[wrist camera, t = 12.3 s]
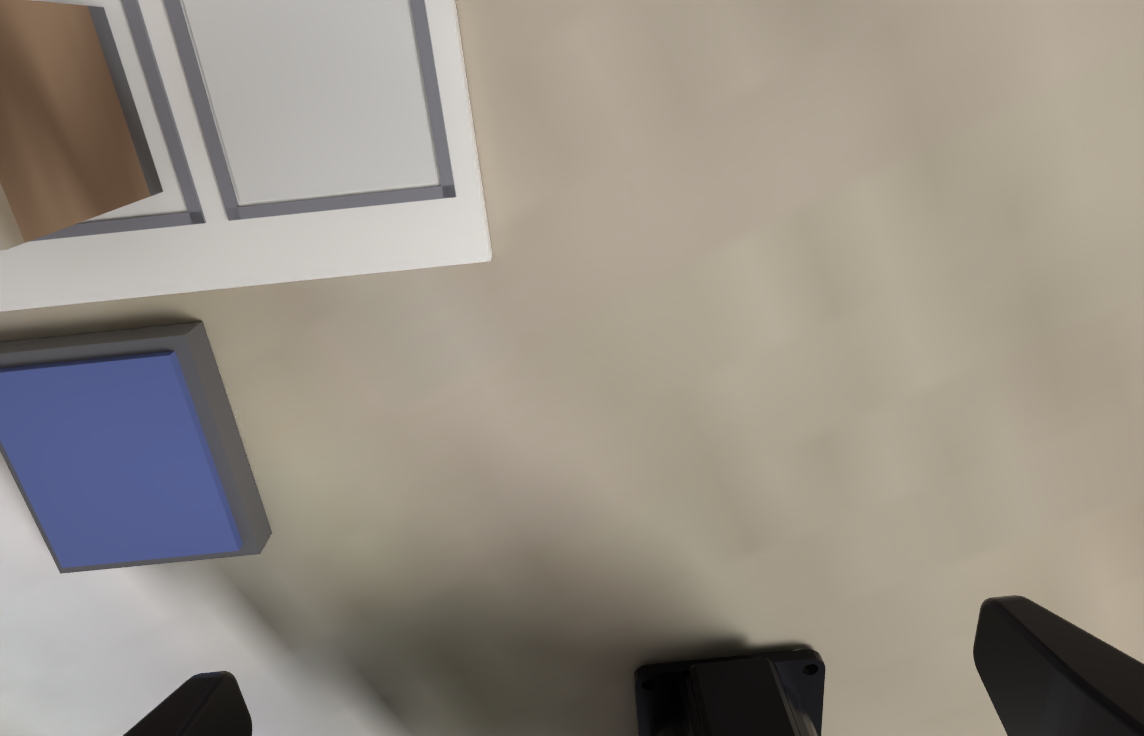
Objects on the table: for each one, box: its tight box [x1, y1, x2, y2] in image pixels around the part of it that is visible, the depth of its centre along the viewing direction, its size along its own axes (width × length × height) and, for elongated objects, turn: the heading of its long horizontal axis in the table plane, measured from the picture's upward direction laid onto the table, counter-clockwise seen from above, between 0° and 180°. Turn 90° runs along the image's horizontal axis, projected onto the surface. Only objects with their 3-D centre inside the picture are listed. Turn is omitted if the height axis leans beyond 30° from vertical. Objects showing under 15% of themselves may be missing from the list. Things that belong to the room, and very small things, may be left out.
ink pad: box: [0, 322, 272, 573], centre depth 20 cm, size 7×6×1 cm
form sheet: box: [0, 0, 492, 312], centre depth 17 cm, size 9×13×1 cm
